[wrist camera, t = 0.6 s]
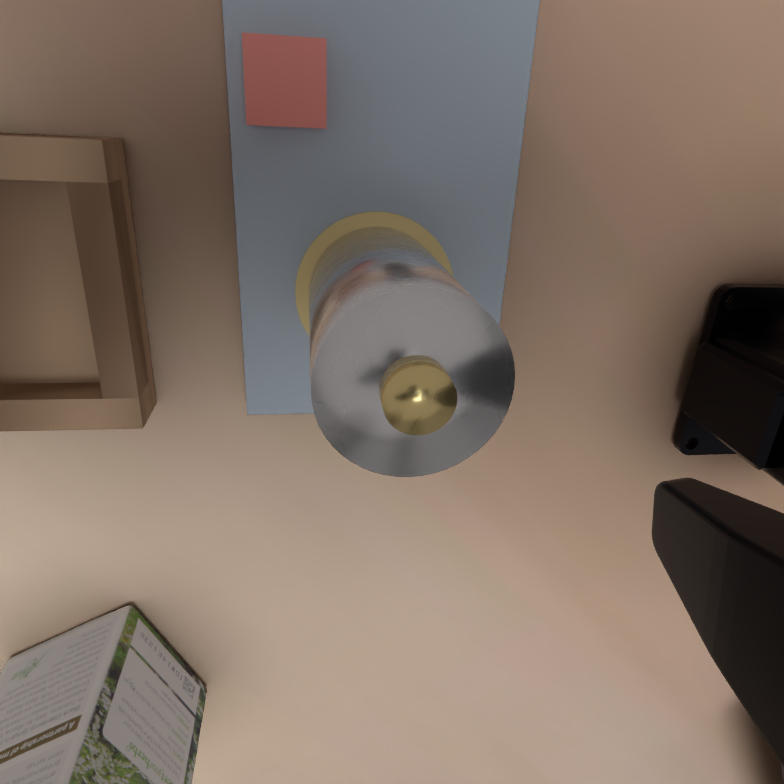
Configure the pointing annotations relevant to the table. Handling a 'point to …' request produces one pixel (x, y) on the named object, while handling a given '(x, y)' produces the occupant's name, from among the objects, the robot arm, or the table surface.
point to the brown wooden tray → (70, 288)
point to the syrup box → (100, 708)
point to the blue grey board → (367, 152)
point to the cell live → (402, 357)
